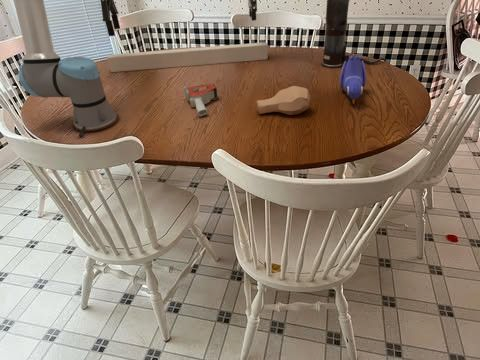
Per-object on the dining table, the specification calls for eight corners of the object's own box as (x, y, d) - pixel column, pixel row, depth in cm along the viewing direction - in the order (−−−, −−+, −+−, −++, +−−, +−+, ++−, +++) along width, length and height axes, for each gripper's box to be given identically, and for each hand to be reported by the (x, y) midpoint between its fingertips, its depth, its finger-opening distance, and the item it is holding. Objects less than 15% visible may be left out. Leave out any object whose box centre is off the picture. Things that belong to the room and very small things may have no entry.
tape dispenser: (202, 122, 132) (232, 99, 144) (201, 109, 128) (231, 87, 141) (166, 111, 139) (197, 89, 152) (164, 98, 136) (196, 78, 148)
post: (111, 72, 179) (107, 57, 175) (113, 69, 183) (109, 54, 179) (267, 59, 183) (267, 44, 178) (266, 56, 187) (266, 42, 182)
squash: (314, 116, 128) (313, 95, 122) (259, 125, 130) (256, 105, 124) (308, 99, 136) (307, 78, 129) (257, 108, 138) (253, 88, 131)
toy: (338, 94, 152) (340, 108, 129) (340, 53, 145) (343, 60, 123) (362, 94, 149) (368, 108, 127) (365, 52, 143) (373, 58, 120)
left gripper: (104, -15, 148) (117, 38, 161) (116, -22, 168) (126, 25, 181) (86, -14, 148) (101, 39, 160) (100, -21, 168) (112, 26, 181)
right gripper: (261, -18, 158) (262, 21, 167) (257, -22, 169) (258, 14, 179) (245, -17, 157) (246, 22, 167) (242, -21, 169) (243, 16, 179)
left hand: (114, 32), depth 171 cm, fingers open, 13 cm apart
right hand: (252, 18), depth 173 cm, fingers open, 8 cm apart
